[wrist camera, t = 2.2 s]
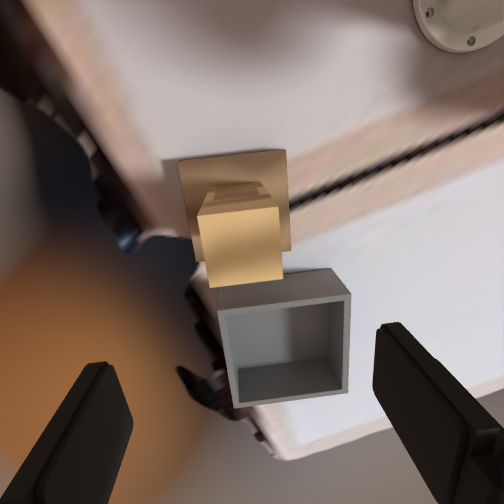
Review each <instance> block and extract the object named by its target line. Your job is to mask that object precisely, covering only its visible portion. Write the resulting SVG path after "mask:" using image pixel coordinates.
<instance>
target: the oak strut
mask: <svg viewBox="0 0 504 504" xmlns="http://www.w3.org/2000/svg"><path fill="white" fill-rule="evenodd" d="M197 219H198V225H199V230H200V236H201V241H202V247H203V252H204V258H205V264H206V269H207V275H208V280H209V286H210V288H214V287H222V286H230V285H238V284H246V283H254V282H262V281H271V280H279V279H283V268H282V253H281V238H280V223H279V209H278V205H277V204H276V203H275V201H274V200H273V198H272V197H271V196H270V194H269V193H268V191H267V190H266V189H265V187H264V186H263V184H262V183H261V182H253V183H244V184H235V185H227V186H218V187H210V188H209V190H208V193H207V195H206V197H205V199H204V202H203V204H202V206H201V208H200V210H199V213H198V215H197Z"/></svg>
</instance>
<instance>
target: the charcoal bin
mask: <svg viewBox="0 0 504 504" xmlns="http://www.w3.org/2000/svg"><path fill="white" fill-rule="evenodd" d="M217 314H218V319H219V325H220V331H221V337H222V342H223V348H224V354H225V359H226V365H227V371H228V377H229V382H230V388H231V394H232V399H233V405H234V408H241V407H248V406H255V405H263V404H270V403H278V402H285V401H292V400H300V399H307V398H315V397H322V396H329V395H337V394H344V393H348V374H349V345H350V317H351V293H350V292H349V290H348V289H347V288H346V286H345V285H344V284H343V283H342V281H341V280H340V279H339V277H338V276H337V275H336V274H335V272H334V271H333V270H332V269H331V268H330V269H322V270H314V271H305V272H297V273H289V274H283V279H279V280H271V281H262V282H254V283H246V284H238V285H230V286H222V287H219V292H218V304H217Z"/></svg>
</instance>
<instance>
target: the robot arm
mask: <svg viewBox="0 0 504 504" xmlns="http://www.w3.org/2000/svg"><path fill="white" fill-rule="evenodd" d="M413 7H414V12H415V16H416V20H417V22H418V24H419V26H420V29H421V31H422V32H423V33H424V35H425V36H426V38H427V39H428V40H429V41H430V42H431V43H433V44H434V45H435V46H436V47H438V48H440V49H442V50H444V51H448V52H453V53H466V52H470V51H474V50H477V49H480V48H482V47H485V46H487V45H490V44H491V43H493V42H494V41H496V40H498V39H499V38H501V37H502V36H503V35H504V0H413ZM372 386H373V391H374V394H375V396H376V398H377V400H378V401H379V403H380V405H381V406H382V408H383V410H384V412H385V413H386V415H387V417H388V419H389V420H390V422H391V424H392V426H393V427H394V429H395V431H396V432H397V434H398V436H399V437H400V439H401V441H402V443H403V445H404V446H405V448H406V450H407V451H408V453H409V455H410V457H411V458H412V460H413V462H414V464H415V465H416V467H417V469H418V471H419V472H420V474H421V476H422V478H423V479H424V481H425V483H426V484H427V486H428V488H429V490H430V491H431V493H432V495H433V496H434V498H435V500H436V501H437V502H438V504H504V428H503V427H502V426H501V425H500V424H499V423H498V422H497V421H496V420H495V419H494V418H493V417H492V416H491V415H490V414H489V413H488V412H487V411H486V410H485V409H484V407H482V405H480V403H479V402H478V401H477V400H476V399H475V398H474V397H473V396H472V395H471V394H470V393H469V392H468V391H467V390H466V389H465V388H464V387H463V386H462V385H461V383H460V382H459V381H458V380H457V379H456V378H455V377H454V376H453V375H452V374H451V373H450V372H449V371H448V370H447V369H446V368H445V367H444V366H443V365H442V364H441V363H440V362H439V361H438V360H437V359H435V358H434V357H433V356H432V355H431V354H430V353H429V352H428V351H427V350H426V349H425V348H424V347H423V346H422V345H421V344H420V343H419V342H418V341H417V340H416V339H415V337H414V336H413V335H412V334H411V333H410V332H409V331H408V330H407V329H406V328H405V327H404V326H403V325H402V324H401V323H400V322H394V323H386V324H382V325H381V327H380V329H377V331H376V343H375V357H374V370H373V384H372ZM132 430H133V418H132V416H131V413H130V410H129V407H128V404H127V402H126V399H125V396H124V393H123V391H122V388H121V385H120V383H119V380H118V377H117V374H116V372H115V369H114V367H113V366H112V365H109V364H108V362H106V361H104V362H96V363H89V364H87V365H86V366H85V367H84V369H83V371H82V372H81V374H80V375H79V377H78V378H77V380H76V382H75V383H74V384H73V386H72V388H71V389H70V391H69V392H68V394H67V396H66V397H65V399H64V400H63V402H62V403H61V405H60V406H59V408H58V410H57V411H56V413H55V414H54V416H53V417H52V419H51V420H50V422H49V423H48V425H47V427H46V428H45V430H44V431H43V433H42V434H41V436H40V438H39V439H38V441H37V442H36V444H35V445H34V447H33V448H32V450H31V452H30V453H29V455H28V456H27V458H26V460H25V461H24V462H23V464H22V465H21V467H20V469H19V470H18V472H17V473H16V475H15V476H14V478H13V480H12V481H11V483H10V484H9V486H8V487H7V489H6V490H5V492H4V494H3V495H2V497H1V498H0V504H108V502H109V499H110V496H111V493H112V490H113V487H114V484H115V481H116V478H117V475H118V472H119V469H120V466H121V462H122V460H123V457H124V454H125V451H126V448H127V445H128V442H129V439H130V436H131V433H132Z"/></svg>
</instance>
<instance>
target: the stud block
mask: <svg viewBox="0 0 504 504" xmlns="http://www.w3.org/2000/svg"><path fill="white" fill-rule="evenodd" d="M177 165H178V170H179V175H180V180H181V185H182V191H183V196H184V201H185V206H186V211H187V216H188V222H189V227H190V232H191V237H192V242H193V247H194V252H195V258H196V262H201V261H205V258H204V252H203V247H202V241H201V236H200V230H199V225H198V219H197V215H198V213H199V210H200V208H201V206H202V204H203V202H204V199H205V197H206V195H207V193H208V190H209V188H210V187H218V186H227V185H235V184H244V183H253V182H261V183H262V184H263V186H264V187H265V189H266V190H267V191H268V193H269V194H270V196H271V197H272V198H273V200H274V201H275V203H276V204H277V205H278V209H279V223H280V238H281V252H284V251H291V235H290V216H289V197H288V179H287V160H286V150H284V149H281V150H272V151H263V152H254V153H245V154H236V155H227V156H218V157H209V158H200V159H191V160H182V161H178V162H177Z"/></svg>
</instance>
